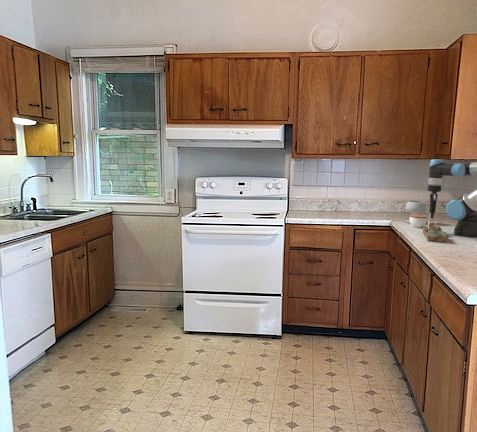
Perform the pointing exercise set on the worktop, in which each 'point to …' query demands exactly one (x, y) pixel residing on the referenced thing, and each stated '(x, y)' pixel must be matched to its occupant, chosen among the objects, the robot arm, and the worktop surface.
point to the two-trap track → (434, 234)
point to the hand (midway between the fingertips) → (431, 223)
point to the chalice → (416, 207)
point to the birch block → (432, 226)
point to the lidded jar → (418, 220)
